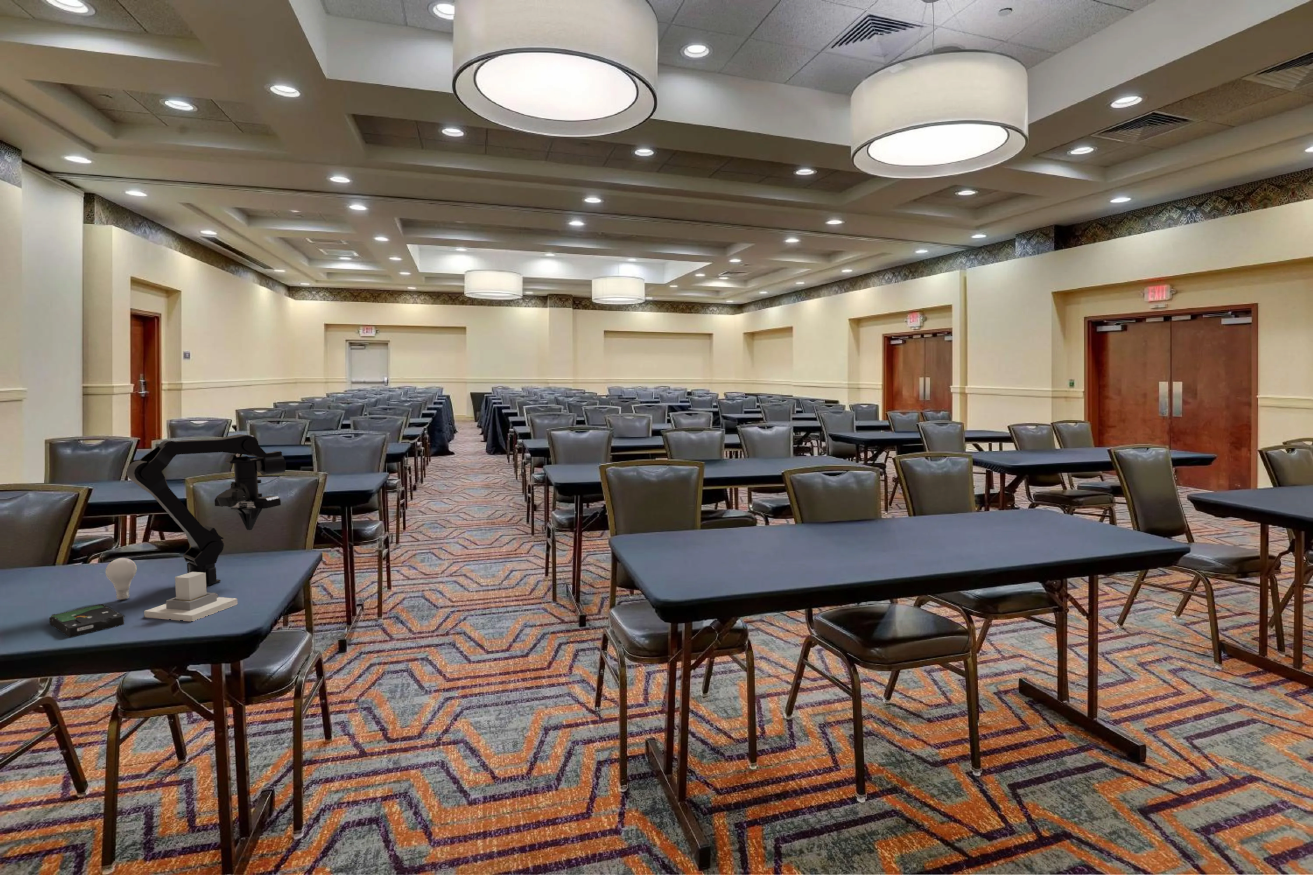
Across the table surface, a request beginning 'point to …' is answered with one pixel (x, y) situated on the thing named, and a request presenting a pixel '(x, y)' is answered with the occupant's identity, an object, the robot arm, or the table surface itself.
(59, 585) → the table surface
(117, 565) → the lightbulb
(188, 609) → the socket plate
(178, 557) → the table surface
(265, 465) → the robot arm
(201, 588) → the plug
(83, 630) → the disk drive
